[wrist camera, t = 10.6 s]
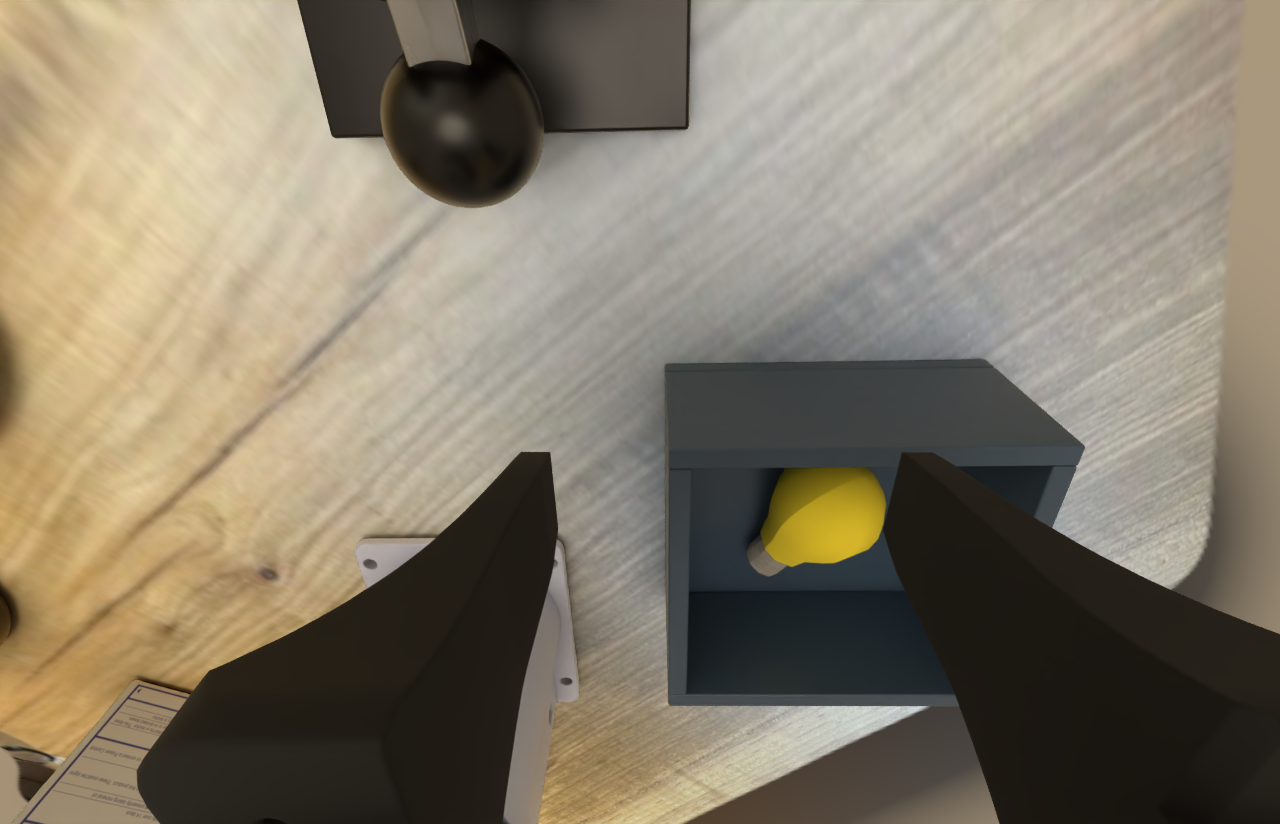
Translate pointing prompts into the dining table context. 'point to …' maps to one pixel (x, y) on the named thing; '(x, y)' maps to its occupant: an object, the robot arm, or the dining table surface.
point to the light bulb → (819, 518)
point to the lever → (458, 108)
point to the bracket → (523, 60)
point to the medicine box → (107, 764)
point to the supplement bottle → (4, 621)
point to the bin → (824, 592)
